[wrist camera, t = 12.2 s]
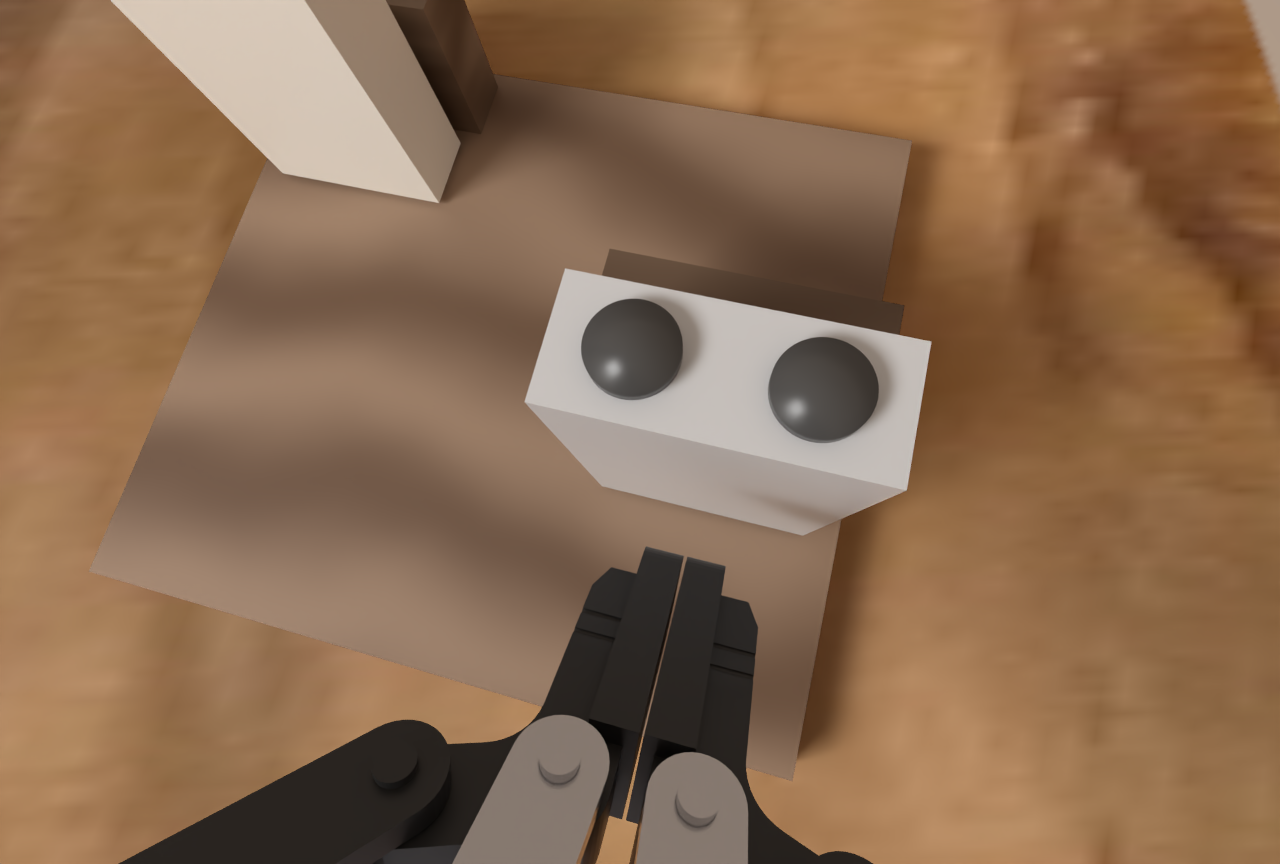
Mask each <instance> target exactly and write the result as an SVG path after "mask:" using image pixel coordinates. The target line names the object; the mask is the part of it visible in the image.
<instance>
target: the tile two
mask: <svg viewBox="0 0 1280 864" xmlns="http://www.w3.org/2000/svg"><path fill="white" fill-rule="evenodd" d="M930 348H931V341H926V340H921V339H916V338H911V337H906V336H901V335H896V334H891V333H886V332H881V331H876V330H871V329H866V328H861V327H856V326H851V325H846V324H841V323H836V322H831V321H826V320H821V319H816V318H811V317H806V316H801V315H796V314H791V313H786V312H781V311H776V310H771V309H766V308H761V307H756V306H751V305H746V304H741V303H736V302H731V301H726V300H721V299H716V298H711V297H706V296H701V295H696V294H691V293H686V292H681V291H676V290H671V289H666V288H661V287H656V286H651V285H646V284H641V283H636V282H631V281H626V280H621V279H616V278H611V277H606V276H601V275H596V274H591V273H586V272H581V271H576V270H571V269H566V268H565V271H564V274H563V277H562V280H561V284H560V287H559V290H558V294H557V297H556V300H555V303H554V307H553V310H552V313H551V316H550V320H549V323H548V326H547V330H546V333H545V336H544V339H543V343H542V346H541V349H540V352H539V356H538V359H537V362H536V366H535V369H534V372H533V375H532V379H531V382H530V385H529V388H528V392H527V395H526V398H525V403H526V404H527V405H528V407H529V408H530V409H531V410H532V411H533V412H534V413H535V414H536V415H537V416H538V417H539V418H540V420H541V421H542V422H543V423H544V424H545V425H546V426H547V427H548V428H549V429H550V430H551V432H552V433H553V434H554V435H555V436H556V437H557V438H558V439H559V440H560V441H561V442H562V443H563V445H564V446H565V447H566V448H567V449H568V450H569V451H570V452H571V453H572V454H573V455H574V457H575V458H576V459H577V460H578V461H579V462H580V463H581V464H582V465H583V466H584V467H585V468H586V470H587V471H588V472H589V473H590V474H591V475H592V476H593V477H594V478H595V479H596V480H597V482H598V483H599V484H600V485H601V486H603V487H607V488H611V489H615V490H619V491H623V492H627V493H631V494H635V495H640V496H644V497H648V498H652V499H656V500H660V501H664V502H668V503H672V504H676V505H680V506H684V507H688V508H692V509H696V510H701V511H705V512H709V513H713V514H717V515H721V516H725V517H729V518H733V519H737V520H741V521H745V522H749V523H753V524H757V525H762V526H766V527H770V528H774V529H778V530H782V531H786V532H790V533H794V534H798V535H802V536H803V535H806V534H808V533H810V532H813V531H815V530H817V529H819V528H822V527H824V526H826V525H829V524H831V523H833V522H836V521H838V520H840V519H842V518H845V517H847V516H849V515H852V514H854V513H856V512H858V511H861V510H863V509H865V508H868V507H870V506H872V505H875V504H877V503H879V502H881V501H884V500H886V499H888V498H891V497H893V496H895V495H898V494H900V493H902V492H904V491H907V486H908V480H909V474H910V468H911V462H912V456H913V450H914V444H915V438H916V432H917V426H918V420H919V414H920V408H921V402H922V396H923V390H924V384H925V378H926V372H927V366H928V360H929V354H930Z"/></svg>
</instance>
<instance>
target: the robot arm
mask: <svg viewBox="0 0 1280 864" xmlns="http://www.w3.org/2000/svg"><path fill="white" fill-rule="evenodd" d="M683 558H684V556H683V555H679V554H675V553H671V552H667V551H663V550H659V549H655V548H651V547H647V546H646V547H645V550H644V552H643V555H642V558H641V562H640V565H639V568H638V571H637V574H636V573H632V572H628V571H624V570H620V569H617V568H613V567H611V568H610V569H609V570H608V571H607V572H606V573H604V574H603V575H602V576H601V577H600V578H599V579H598V580H597V581H596V582H594V583H593V584H592V586H591V589H590V591H589V594H588V596H587V599H586V601H585V604H584V606H583V609H582V613H580V616H579V618H578V621H577V623H576V626H575V629H574V632H573V633H572V636H571V638H570V641H569V643H568V645H567V648H566V650H565V653H564V655H563V658H562V660H561V663H560V665H559V668H558V670H557V673H556V675H555V677H554V680H553V682H552V685H551V687H550V690H549V692H548V695H547V697H546V700H545V702H544V704H543V706H542V708H541V710H540V712H539V713H538V715H537V716H536V718H535V719H534V720H533V721H532V722H531V723H530V724H529V725H528V726H526V727H525V728H524V729H523V730H521V731H519V732H518V733H516V734H514V735H512V736H510V737H507V738H505V739H502V740H498V741H493V742H484V743H463V744H447V743H446V740H445V739H444V737H443V736H442V734H441V733H440V732H439V731H438V730H437V729H436V728H434V727H432V726H431V725H429V724H427V723H424V722H421V721H416V720H399V721H394V722H390V723H387V724H384V725H382V726H380V727H377V728H375V729H373V730H372V731H370V732H368V733H366V734H364V735H362V736H360V737H358V738H356V739H354V740H353V741H351V742H349V743H347V744H345V745H343V746H341V747H339V748H337V749H335V750H334V751H332V752H330V753H328V754H326V755H324V756H322V757H320V758H318V759H316V760H315V761H313V762H311V763H309V764H307V765H305V766H303V767H301V768H299V769H297V770H296V771H294V772H292V773H290V774H288V775H286V776H284V777H282V778H280V779H278V780H277V781H275V782H273V783H271V784H269V785H267V786H265V787H263V788H261V789H260V790H258V791H256V792H254V793H252V794H250V795H248V796H246V797H244V798H242V799H241V800H239V801H237V802H235V803H233V804H231V805H229V806H227V807H225V808H223V809H222V810H220V811H218V812H216V813H214V814H212V815H210V816H208V817H206V818H204V819H203V820H201V821H199V822H197V823H195V824H193V825H191V826H189V827H187V828H185V829H184V830H182V831H180V832H178V833H176V834H174V835H172V836H170V837H168V838H167V839H165V840H163V841H161V842H159V843H157V844H155V845H153V846H151V847H149V848H148V849H146V850H144V851H142V852H140V853H138V854H136V855H134V856H132V857H130V858H129V859H127V860H125V861H123V862H121V863H119V864H595V863H596V861H597V858H598V855H599V852H600V848H601V844H602V840H603V837H604V833H605V829H606V825H607V821H608V818H609V816H613V817H616V818H619V819H622V817H623V813H624V809H625V804H626V800H627V796H628V792H629V788H630V784H631V780H632V776H633V772H634V768H635V764H636V759H637V755H638V751H639V747H640V743H641V739H642V735H643V731H644V727H645V723H646V718H647V714H648V710H649V706H650V702H651V698H652V694H653V690H654V686H655V682H656V677H657V673H658V669H659V665H660V661H661V657H662V653H663V649H664V645H665V641H666V636H667V632H668V628H669V623H670V619H671V614H672V610H673V605H674V600H675V596H676V591H677V586H678V582H679V577H680V572H681V568H682V563H683ZM725 568H726V566H724V565H720V564H716V563H712V562H708V561H704V560H700V559H696V558H692V557H688V556H687V560H686V564H685V568H684V572H683V576H682V580H681V584H680V589H679V593H678V597H677V601H676V605H675V609H674V613H673V617H672V622H671V626H670V630H669V634H668V638H667V642H666V646H665V651H664V655H663V659H662V663H661V667H660V671H659V675H658V680H657V684H656V688H655V692H654V696H653V700H652V704H651V709H650V713H649V717H648V721H647V725H646V729H645V733H644V738H643V743H642V747H641V752H640V757H639V762H638V766H637V771H636V776H635V781H634V785H633V790H632V795H631V800H630V804H629V809H628V814H627V818H626V820H627V821H630V822H633V823H637V824H638V827H637V831H636V836H635V840H634V845H633V849H632V854H631V858H630V863H629V864H873V863H871V862H869V861H868V860H866V859H864V858H862V857H860V856H858V855H855V854H852V853H848V852H841V851H834V852H827V853H825V854H822V855H820V856H818V855H817V854H815V853H814V852H812V851H811V850H809V849H808V848H806V847H805V846H804V845H802V844H801V843H799V842H798V841H796V840H795V839H793V838H792V837H790V836H789V835H787V834H786V833H785V832H783V831H782V830H781V829H779V828H778V827H777V826H776V825H774V824H773V823H772V822H771V821H770V820H769V819H768V818H767V816H766V815H765V814H764V813H763V811H762V810H761V809H760V807H759V806H758V804H757V802H756V801H755V799H754V797H753V795H752V792H751V790H750V787H749V783H748V780H747V773H746V757H747V746H748V735H749V724H750V713H751V702H752V691H753V677H754V668H755V655H756V646H757V635H758V626H757V623H756V621H755V618H754V615H753V613H752V610H751V607H750V605H749V602H746V601H742V600H738V599H734V598H731V597H727V596H723V595H721V594H722V588H723V581H724V575H725Z"/></svg>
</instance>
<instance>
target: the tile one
mask: <svg viewBox="0 0 1280 864" xmlns="http://www.w3.org/2000/svg"><path fill="white" fill-rule="evenodd" d="M111 1H112V2H113V3H114V4H115V5H116V6H117V7H118V8H119V9H120V10H121V11H122V12H123V13H124V14H125V15H126V16H127V17H128V18H129V19H130V20H131V21H132V22H133V23H134V24H135V25H136V26H137V27H138V28H139V29H140V30H141V32H142V33H143V34H144V35H145V36H146V37H147V38H148V39H149V40H150V41H151V42H152V43H153V44H154V45H155V46H156V47H157V48H158V49H159V50H160V51H161V52H162V53H163V54H164V55H165V56H166V57H167V58H168V59H169V60H170V61H171V62H172V63H173V64H174V65H175V66H176V67H177V68H178V69H179V70H180V71H181V72H182V73H183V74H184V75H185V76H186V77H187V78H188V79H189V80H190V81H191V82H192V83H193V84H194V85H195V86H196V87H197V88H198V89H199V90H200V91H201V92H202V93H203V94H204V95H205V96H206V97H207V98H208V99H209V100H210V101H211V102H212V103H213V104H214V105H215V106H216V107H217V108H218V109H219V110H220V111H221V112H222V113H223V114H224V115H225V116H226V117H227V118H228V119H229V120H230V121H231V122H232V123H233V124H234V125H235V126H236V127H237V128H238V129H239V130H240V131H241V132H242V133H243V134H244V135H245V136H246V137H247V138H248V139H249V140H250V141H251V142H252V143H253V144H254V145H255V146H256V147H257V148H258V149H259V150H260V151H261V152H262V153H263V154H264V155H265V156H266V157H267V158H268V159H269V160H270V161H271V162H272V163H273V164H274V165H275V166H276V167H277V168H278V169H279V170H280V171H281V172H282V173H284V174H289V175H294V176H299V177H305V178H310V179H315V180H320V181H326V182H331V183H336V184H341V185H347V186H352V187H357V188H362V189H368V190H373V191H378V192H383V193H389V194H394V195H399V196H404V197H410V198H415V199H420V200H425V201H431V202H436V203H439V202H440V199H441V197H442V194H443V191H444V188H445V185H446V183H447V180H448V177H449V174H450V172H451V169H452V166H453V163H454V161H455V158H456V155H457V152H458V149H459V147H460V144H461V143H460V141H459V139H458V137H457V135H456V133H455V131H454V130H453V128H452V126H451V124H450V122H449V120H448V118H447V116H446V114H445V112H444V110H443V109H442V107H441V105H440V103H439V101H438V99H437V97H436V95H435V93H434V91H433V89H432V88H431V86H430V84H429V82H428V80H427V78H426V76H425V74H424V72H423V70H422V68H421V67H420V65H419V63H418V61H417V59H416V57H415V55H414V53H413V51H412V49H411V48H410V46H409V44H408V42H407V40H406V38H405V36H404V34H403V32H402V30H401V28H400V27H399V25H398V23H397V21H396V19H395V17H394V15H393V13H392V11H391V9H390V7H389V6H388V4H387V2H386V0H111Z"/></svg>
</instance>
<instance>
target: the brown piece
mask: <svg viewBox="0 0 1280 864" xmlns="http://www.w3.org/2000/svg"><path fill="white" fill-rule="evenodd" d="M386 2H387V4H388V6H389V7H390V9H391V11H392V13H393V15H394V17H395V19H396V21H397V23H398V25H399V27H400V28H401V30H402V32H403V34H404V36H405V38H406V40H407V42H408V44H409V46H410V48H411V49H412V51H413V53H414V55H415V57H416V59H417V61H418V63H419V65H420V67H421V68H422V70H423V72H424V74H425V76H426V78H427V80H428V82H429V84H430V86H431V88H432V89H433V91H434V93H435V95H436V97H437V99H438V101H439V103H440V105H441V107H442V109H443V110H444V112H445V114H446V116H447V118H448V120H449V122H450V124H451V126H452V128H453V130H454V131H455V133H456V135H457V137H458V139H459V141H460V143H461V144H460V147H459V149H458V152H457V155H456V158H455V161H454V163H453V166H452V169H451V172H450V174H449V177H448V180H447V183H446V185H445V188H444V191H443V194H442V197H441V199H440V202H439V203H436V202H431V201H425V200H420V199H415V198H410V197H404V196H399V195H394V194H389V193H383V192H378V191H373V190H368V189H362V188H357V187H352V186H347V185H341V184H336V183H331V182H326V181H320V180H315V179H310V178H305V177H299V176H294V175H289V174H284V173H282V172H281V171H280V170H279V169H278V168H277V167H276V166H275V165H274V164H273V163H272V162H271V161H270V160H269V159H268V158H267V161H266V163H265V165H264V167H263V170H262V172H261V174H260V177H259V179H258V181H257V184H256V186H255V188H254V191H253V193H252V195H251V198H250V200H249V202H248V204H247V207H246V209H245V211H244V214H243V216H242V218H241V221H240V223H239V225H238V228H237V230H236V232H235V235H234V237H233V239H232V242H231V244H230V246H229V248H228V251H227V253H226V255H225V258H224V260H223V262H222V265H221V267H220V269H219V272H218V274H217V276H216V279H215V281H214V283H213V285H212V288H211V290H210V292H209V295H208V297H207V299H206V302H205V304H204V306H203V309H202V311H201V313H200V316H199V318H198V320H197V322H196V325H195V327H194V329H193V332H192V334H191V336H190V339H189V341H188V343H187V346H186V348H185V350H184V353H183V355H182V357H181V360H180V362H179V364H178V366H177V369H176V371H175V373H174V376H173V378H172V380H171V383H170V385H169V387H168V390H167V392H166V394H165V397H164V399H163V401H162V403H161V406H160V408H159V410H158V413H157V415H156V417H155V420H154V422H153V424H152V427H151V429H150V431H149V434H148V436H147V438H146V441H145V443H144V445H143V447H142V450H141V452H140V454H139V457H138V459H137V461H136V464H135V466H134V468H133V471H132V473H131V475H130V478H129V480H128V482H127V484H126V487H125V489H124V491H123V494H122V496H121V498H120V501H119V503H118V505H117V508H116V510H115V512H114V515H113V517H112V519H111V521H110V524H109V526H108V528H107V531H106V533H105V535H104V538H103V540H102V542H101V545H100V547H99V549H98V552H97V554H96V556H95V559H94V561H93V563H92V565H91V568H90V570H89V572H92V573H96V574H99V575H103V576H106V577H109V578H113V579H116V580H119V581H123V582H126V583H129V584H133V585H136V586H139V587H143V588H146V589H149V590H153V591H156V592H160V593H163V594H166V595H170V596H173V597H176V598H180V599H183V600H186V601H190V602H193V603H196V604H200V605H203V606H206V607H210V608H213V609H217V610H220V611H223V612H227V613H230V614H233V615H237V616H240V617H243V618H247V619H250V620H253V621H257V622H260V623H263V624H267V625H270V626H274V627H277V628H280V629H284V630H287V631H290V632H294V633H297V634H300V635H304V636H307V637H310V638H314V639H317V640H320V641H324V642H327V643H331V644H334V645H337V646H341V647H344V648H347V649H351V650H354V651H357V652H361V653H364V654H367V655H371V656H374V657H377V658H381V659H384V660H388V661H391V662H394V663H398V664H401V665H404V666H408V667H411V668H414V669H418V670H421V671H424V672H428V673H431V674H434V675H438V676H441V677H445V678H448V679H451V680H455V681H458V682H461V683H465V684H468V685H471V686H475V687H478V688H481V689H485V690H488V691H491V692H495V693H498V694H502V695H505V696H508V697H512V698H515V699H518V700H522V701H525V702H528V703H532V704H535V705H538V706H543V704H544V702H545V700H546V697H547V695H548V692H549V690H550V687H551V685H552V682H553V680H554V677H555V675H556V673H557V670H558V668H559V665H560V663H561V660H562V658H563V655H564V653H565V650H566V648H567V645H568V643H569V641H570V638H571V636H572V633H573V632H574V629H575V626H576V623H577V621H578V618H579V616H580V613H582V609H583V606H584V604H585V601H586V599H587V596H588V594H589V591H590V589H591V586H592V584H593V583H594V582H596V581H597V580H598V579H599V578H600V577H601V576H602V575H603V574H604V573H606V572H607V571H608V570H609V569H610V568H611V567H613V568H617V569H620V570H624V571H628V572H632V573H636V574H637V571H638V568H639V565H640V562H641V558H642V555H643V552H644V550H645V547H646V546H647V547H651V548H655V549H659V550H663V551H667V552H671V553H675V554H679V555H683V556H684V558H683V563H682V568H681V572H680V577H679V582H678V586H677V591H676V596H675V600H674V605H673V610H672V614H671V619H670V623H669V628H668V632H667V636H666V641H665V645H664V649H663V653H662V657H661V661H660V665H659V669H658V673H657V677H656V682H655V686H654V690H653V694H652V698H651V702H650V706H649V710H648V714H647V718H646V723H645V727H644V731H643V735H642V737H644V733H645V729H646V725H647V721H648V717H649V713H650V709H651V704H652V700H653V696H654V692H655V688H656V684H657V680H658V675H659V671H660V667H661V663H662V659H663V655H664V651H665V646H666V642H667V638H668V634H669V630H670V626H671V622H672V617H673V613H674V609H675V605H676V601H677V597H678V593H679V589H680V584H681V580H682V576H683V572H684V568H685V564H686V560H687V556H688V557H692V558H696V559H700V560H704V561H708V562H712V563H716V564H720V565H724V566H726V568H725V575H724V581H723V588H722V594H721V595H723V596H727V597H731V598H734V599H738V600H742V601H746V602H749V605H750V607H751V610H752V613H753V615H754V618H755V621H756V623H757V626H758V635H757V646H756V655H755V668H754V677H753V691H752V702H751V713H750V724H749V735H748V746H747V757H746V768H750V769H753V770H756V771H760V772H763V773H766V774H770V775H773V776H776V777H780V778H783V779H786V780H790V781H793V775H794V770H795V765H796V759H797V754H798V749H799V743H800V738H801V733H802V727H803V722H804V717H805V711H806V706H807V700H808V695H809V690H810V684H811V679H812V674H813V668H814V663H815V658H816V652H817V647H818V642H819V636H820V631H821V626H822V620H823V615H824V610H825V604H826V599H827V593H828V588H829V583H830V577H831V572H832V567H833V561H834V556H835V551H836V545H837V540H838V535H839V529H840V524H841V519H840V520H838V521H836V522H833V523H831V524H829V525H826V526H824V527H822V528H819V529H817V530H815V531H813V532H810V533H808V534H806V535H803V536H802V535H798V534H794V533H790V532H786V531H782V530H778V529H774V528H770V527H766V526H762V525H757V524H753V523H749V522H745V521H741V520H737V519H733V518H729V517H725V516H721V515H717V514H713V513H709V512H705V511H701V510H696V509H692V508H688V507H684V506H680V505H676V504H672V503H668V502H664V501H660V500H656V499H652V498H648V497H644V496H640V495H635V494H631V493H627V492H623V491H619V490H615V489H611V488H607V487H603V486H601V485H600V484H599V483H598V482H597V480H596V479H595V478H594V477H593V476H592V475H591V474H590V473H589V472H588V471H587V470H586V468H585V467H584V466H583V465H582V464H581V463H580V462H579V461H578V460H577V459H576V458H575V457H574V455H573V454H572V453H571V452H570V451H569V450H568V449H567V448H566V447H565V446H564V445H563V443H562V442H561V441H560V440H559V439H558V438H557V437H556V436H555V435H554V434H553V433H552V432H551V430H550V429H549V428H548V427H547V426H546V425H545V424H544V423H543V422H542V421H541V420H540V418H539V417H538V416H537V415H536V414H535V413H534V412H533V411H532V410H531V409H530V408H529V407H528V405H527V404H526V403H525V398H526V395H527V392H528V388H529V385H530V382H531V379H532V375H533V372H534V369H535V366H536V362H537V359H538V356H539V352H540V349H541V346H542V343H543V339H544V336H545V333H546V330H547V326H548V323H549V320H550V316H551V313H552V310H553V307H554V303H555V300H556V297H557V294H558V290H559V287H560V284H561V280H562V277H563V274H564V271H565V268H566V269H571V270H576V271H581V272H586V273H591V274H596V275H601V276H606V277H611V278H616V279H621V280H626V281H631V282H636V283H641V284H646V285H651V286H656V287H661V288H666V289H671V290H676V291H681V292H686V293H691V294H696V295H701V296H706V297H711V298H716V299H721V300H726V301H731V302H736V303H741V304H746V305H751V306H756V307H761V308H766V309H771V310H776V311H781V312H786V313H791V314H796V315H801V316H806V317H811V318H816V319H821V320H826V321H831V322H836V323H841V324H846V325H851V326H856V327H861V328H866V329H871V330H876V331H881V332H886V333H891V334H896V335H899V333H900V327H901V322H902V316H903V311H904V305H899V304H894V303H889V302H884V301H882V299H883V294H884V288H885V283H886V278H887V272H888V267H889V262H890V256H891V251H892V246H893V240H894V235H895V230H896V224H897V219H898V213H899V208H900V203H901V197H902V192H903V187H904V181H905V176H906V171H907V165H908V160H909V155H910V149H911V144H912V141H911V140H905V139H898V138H892V137H886V136H879V135H873V134H867V133H861V132H854V131H848V130H842V129H835V128H829V127H823V126H817V125H810V124H804V123H798V122H791V121H785V120H779V119H773V118H766V117H760V116H754V115H747V114H741V113H735V112H729V111H722V110H716V109H710V108H703V107H697V106H691V105H685V104H678V103H672V102H666V101H659V100H653V99H647V98H641V97H634V96H628V95H622V94H615V93H609V92H603V91H597V90H590V89H584V88H578V87H571V86H565V85H559V84H553V83H546V82H540V81H534V80H527V79H521V78H515V77H509V76H502V75H496V74H493V73H492V70H491V68H490V65H489V62H488V60H487V57H486V55H485V52H484V50H483V47H482V45H481V42H480V39H479V37H478V34H477V32H476V29H475V27H474V24H473V21H472V19H471V16H470V14H469V11H468V9H467V6H466V4H465V1H464V0H386Z"/></svg>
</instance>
